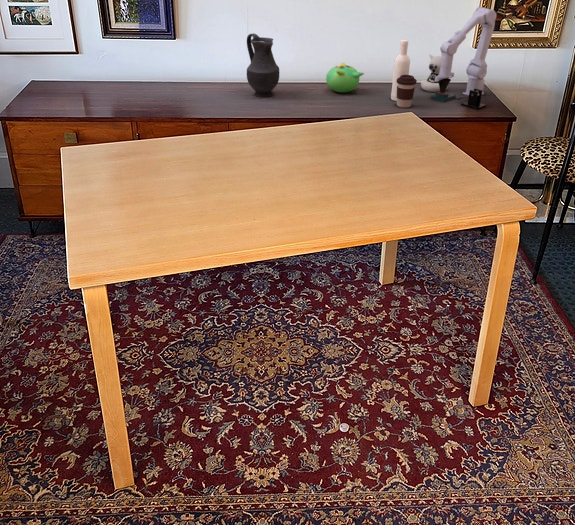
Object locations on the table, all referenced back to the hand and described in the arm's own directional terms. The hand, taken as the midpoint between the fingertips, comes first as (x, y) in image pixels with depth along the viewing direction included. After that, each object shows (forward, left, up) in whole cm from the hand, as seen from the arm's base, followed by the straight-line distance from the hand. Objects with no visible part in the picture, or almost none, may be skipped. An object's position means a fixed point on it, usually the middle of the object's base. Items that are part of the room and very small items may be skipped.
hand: (442, 92), depth 334 cm
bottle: (+17, -15, -4) cm, 23 cm away
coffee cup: (+24, -6, -4) cm, 25 cm away
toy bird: (+30, -43, -4) cm, 53 cm away
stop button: (0, 0, -2) cm, 2 cm away
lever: (-3, +15, 0) cm, 15 cm away
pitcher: (+66, -69, -4) cm, 96 cm away
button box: (-2, 0, -3) cm, 4 cm away
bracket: (-3, +18, -3) cm, 19 cm away
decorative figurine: (-12, -13, -4) cm, 18 cm away
